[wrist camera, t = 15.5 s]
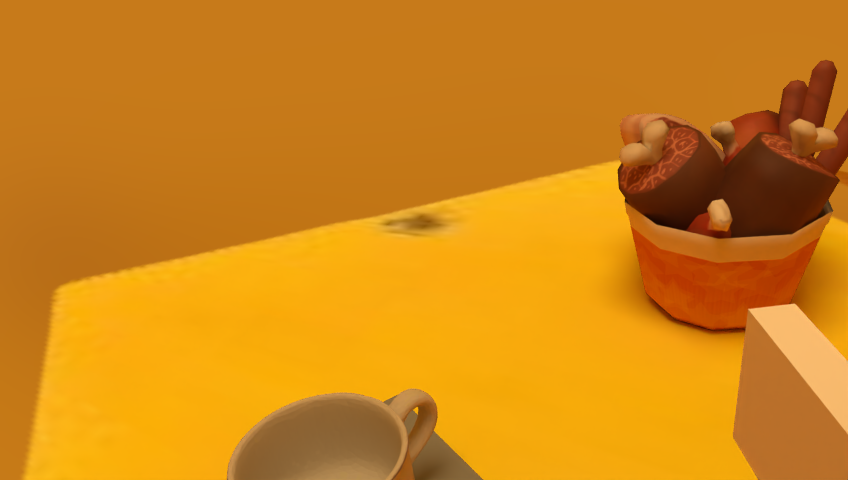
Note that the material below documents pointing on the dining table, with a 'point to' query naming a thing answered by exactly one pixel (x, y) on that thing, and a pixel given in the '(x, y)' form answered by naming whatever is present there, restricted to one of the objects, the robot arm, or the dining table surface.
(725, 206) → the bucket of meat
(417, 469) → the placemat
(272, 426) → the teacup
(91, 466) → the dining table surface
